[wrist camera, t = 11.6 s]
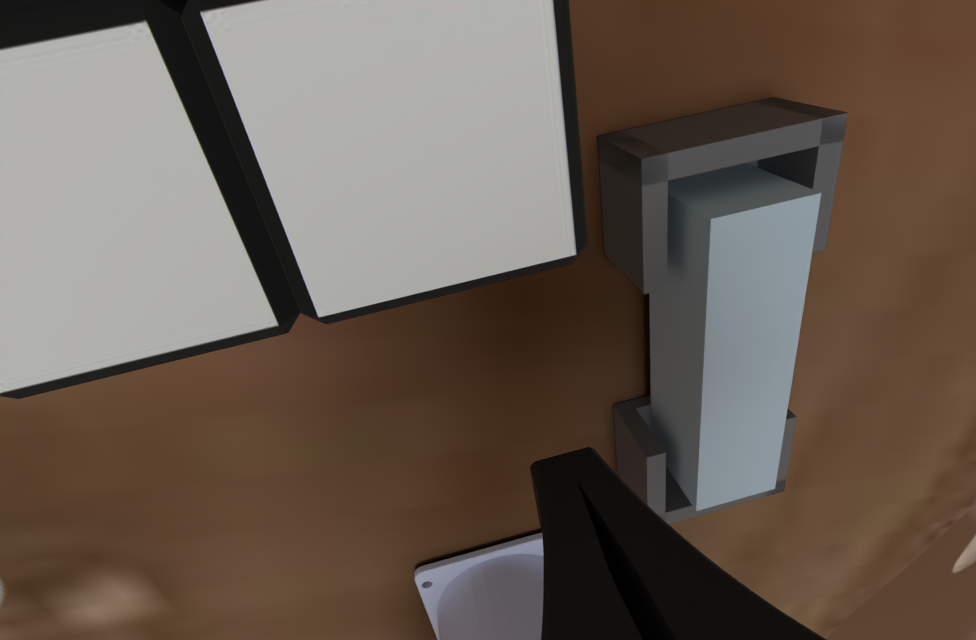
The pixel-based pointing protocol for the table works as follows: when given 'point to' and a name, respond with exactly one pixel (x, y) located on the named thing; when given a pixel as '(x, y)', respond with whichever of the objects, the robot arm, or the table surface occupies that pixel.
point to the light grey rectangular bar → (729, 328)
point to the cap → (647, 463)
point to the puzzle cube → (268, 169)
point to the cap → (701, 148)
